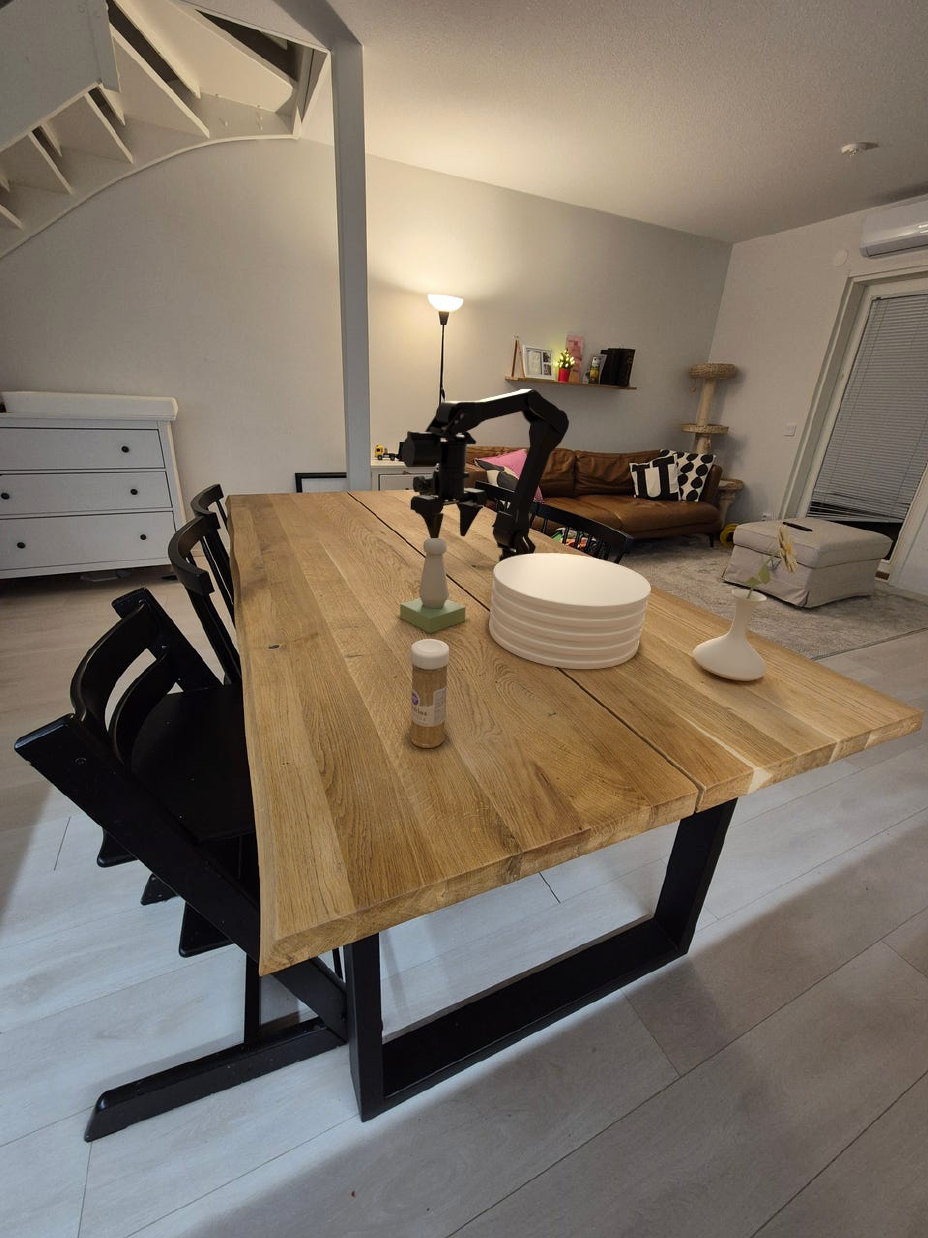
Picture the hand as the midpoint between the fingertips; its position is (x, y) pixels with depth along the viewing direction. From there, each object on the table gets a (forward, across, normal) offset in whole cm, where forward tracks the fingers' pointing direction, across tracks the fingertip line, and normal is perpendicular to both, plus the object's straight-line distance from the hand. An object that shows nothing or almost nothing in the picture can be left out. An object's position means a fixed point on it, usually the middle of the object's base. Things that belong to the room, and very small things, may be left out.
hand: (448, 539), depth 111 cm
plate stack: (+11, +2, +32) cm, 34 cm away
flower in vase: (+11, -8, +59) cm, 61 cm away
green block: (+11, +16, +11) cm, 22 cm away
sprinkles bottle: (+11, +42, +36) cm, 57 cm away
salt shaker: (+8, +15, +11) cm, 21 cm away
